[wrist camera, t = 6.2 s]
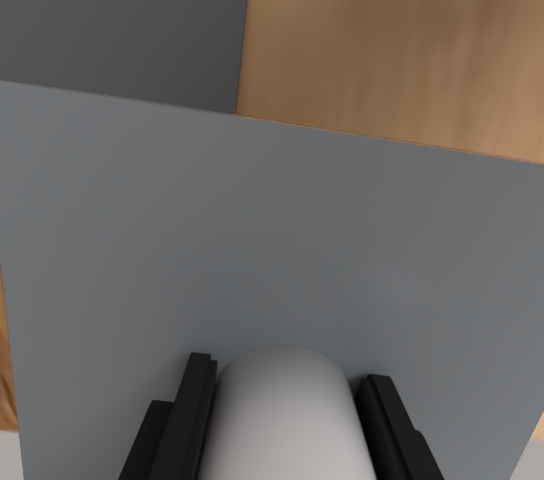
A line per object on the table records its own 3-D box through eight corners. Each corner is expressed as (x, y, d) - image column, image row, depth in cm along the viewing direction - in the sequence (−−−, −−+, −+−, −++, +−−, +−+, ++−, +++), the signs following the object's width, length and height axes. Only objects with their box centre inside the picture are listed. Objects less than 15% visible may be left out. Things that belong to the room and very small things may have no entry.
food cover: (498, 155, 14) (1189, 272, 3) (398, 446, 19) (558, 860, 8) (106, 94, 13) (-532, 8, 3) (107, 413, 18) (-119, 825, 8)
